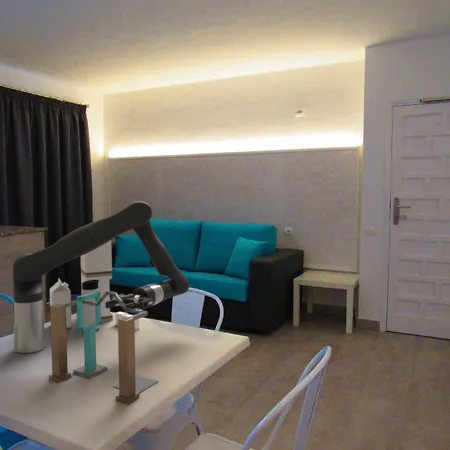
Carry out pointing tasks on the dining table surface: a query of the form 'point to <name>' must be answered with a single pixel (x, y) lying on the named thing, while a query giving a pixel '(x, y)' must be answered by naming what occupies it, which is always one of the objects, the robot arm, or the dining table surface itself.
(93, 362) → the turquoise post on base
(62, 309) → the bent wire rig
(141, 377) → the slate pad
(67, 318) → the milk carton
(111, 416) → the dining table surface
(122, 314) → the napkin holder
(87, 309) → the travel mug
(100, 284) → the tall white tower
